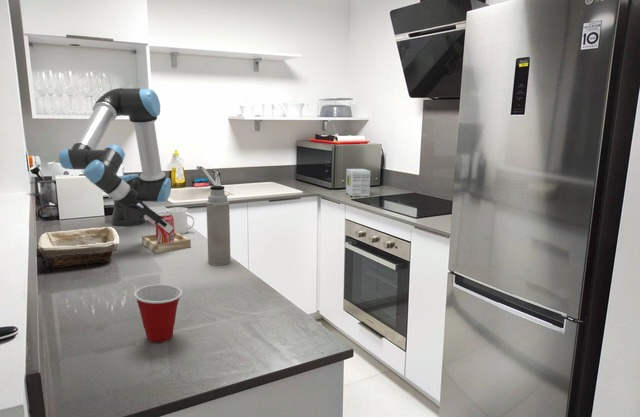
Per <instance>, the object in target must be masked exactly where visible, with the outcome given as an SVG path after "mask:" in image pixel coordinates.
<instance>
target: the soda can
mask: <svg viewBox="0 0 640 417" xmlns="http://www.w3.org/2000/svg"><path fill="white" fill-rule="evenodd" d="M157 214H158V215H159V216H160V217H162V219H163V220H165V221H166V222H167V223H168V224H170V225H171V226H172V227H173V229H172V230H171V232H170V233H168V232H167V231H165V230H164V229H163V228H162V227H160V226H159V225H158V224H157V225H156V226H155V234H156V239H157V242H158V243H159V244H163V243H169V242H173V241H174V218H173V216H172V213H167V212H159V213H157ZM157 219H158V218H157ZM157 219H156V220H157Z"/></svg>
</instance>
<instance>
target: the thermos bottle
mask: <svg viewBox="0 0 640 417" xmlns="http://www.w3.org/2000/svg"><path fill="white" fill-rule="evenodd" d="M209 189H210V194H209V195H208V196H207V201H206V204H205V205H206V206H205V207H206V229H207V230H206V233H207V234H206V236H207V263H208V264H209V265H212V264H213V266H222V265H227V264H229V263H230V262H231V227H230V226H231V222H230V221H231V220H230V201H228V195H227V194H226V193H225V186H223V185H213V186H210V188H209Z"/></svg>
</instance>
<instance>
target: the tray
mask: <svg viewBox="0 0 640 417" xmlns="http://www.w3.org/2000/svg"><path fill="white" fill-rule="evenodd" d="M141 244H142V245H143V246H145V247H146V248H147V249H149V250H150V251H152V252H153V253H155V254H160V253H161V254H163V253H165V252H166V253H167V252H171V251H172V252H173V251H178V250H184V249H188V248H189V249H190V248H191V247H192V246H191V245H192V244H191V239H189V238H188V237H186V236H184V235H183V234H179V233H177V232H174V241H173V242H169V243H163V244H159V243H158V242H157V239H156V233H155V234H149V235H141Z"/></svg>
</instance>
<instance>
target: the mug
mask: <svg viewBox="0 0 640 417" xmlns="http://www.w3.org/2000/svg"><path fill="white" fill-rule="evenodd" d="M187 211H188V209H187V208H186V207H178V206H177V207H171V208H170V207H169V208H167V209H166V213H172V216H173V218H174V232H177V233H179V234H181V235H184V234H186V233H187V232H188V231H189V230H192V229H193V227H194V226H195V218H194V216H193V215H192V214H191V213H189V212H187ZM188 217H189V218H190V219H192V220H193V222H192V224H191V225H188Z"/></svg>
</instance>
